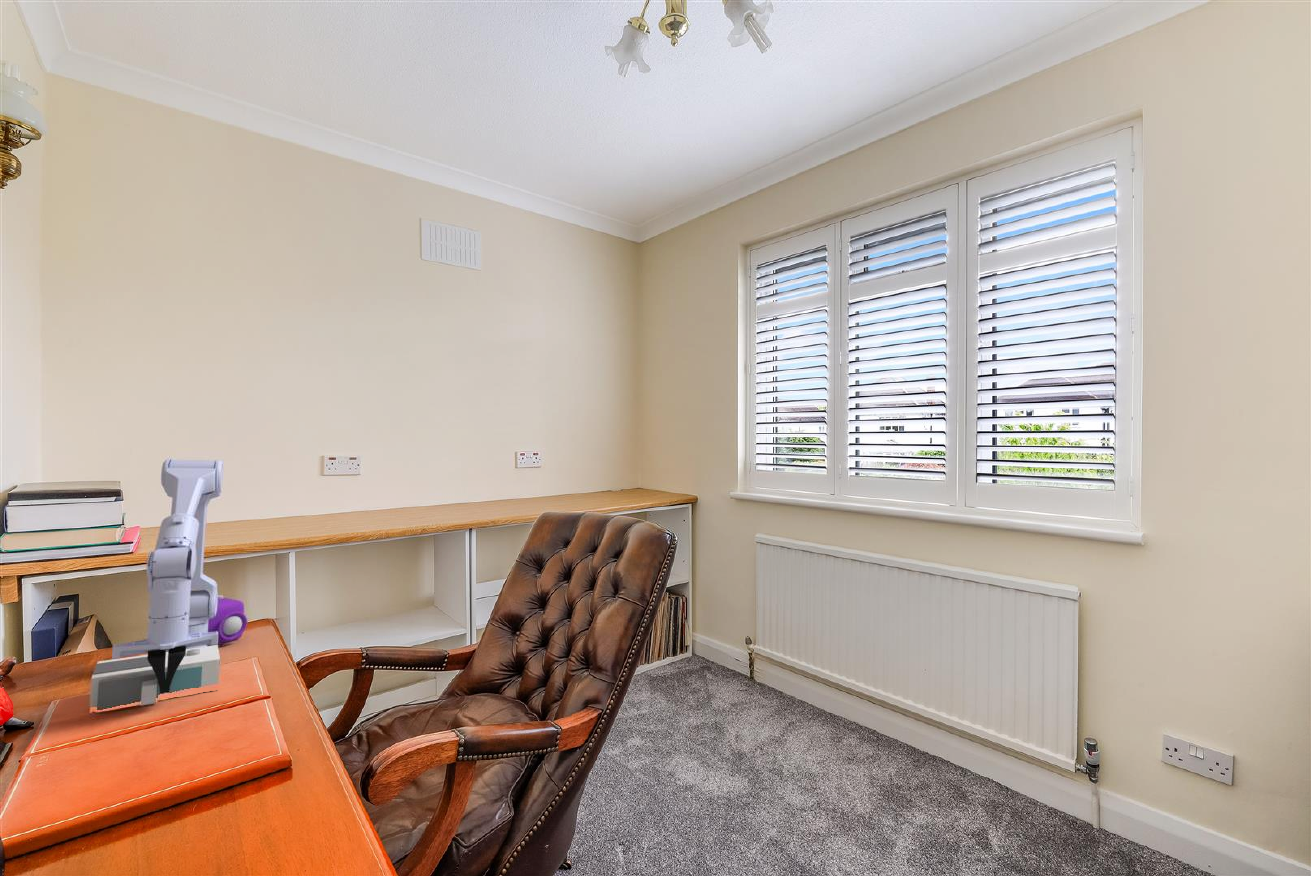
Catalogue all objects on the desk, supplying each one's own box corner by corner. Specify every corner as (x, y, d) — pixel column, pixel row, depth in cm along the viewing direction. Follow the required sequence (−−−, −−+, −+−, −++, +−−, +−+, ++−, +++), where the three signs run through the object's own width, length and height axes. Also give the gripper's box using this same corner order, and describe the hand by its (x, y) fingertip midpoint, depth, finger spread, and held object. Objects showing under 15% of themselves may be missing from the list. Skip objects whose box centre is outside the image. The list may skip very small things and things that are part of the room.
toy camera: (219, 652, 134) (222, 608, 134) (170, 646, 136) (173, 602, 137) (260, 638, 144) (262, 597, 145) (214, 632, 147) (216, 592, 147)
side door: (97, 710, 102) (99, 680, 102) (157, 700, 107) (159, 671, 107) (94, 719, 99) (96, 688, 99) (156, 708, 104) (158, 678, 104)
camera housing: (95, 694, 110) (98, 658, 110) (216, 674, 121) (217, 641, 121) (88, 714, 102) (91, 675, 102) (218, 690, 113) (220, 656, 113)
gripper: (112, 626, 98) (107, 708, 98) (220, 613, 107) (216, 689, 107) (116, 616, 104) (111, 694, 103) (218, 605, 113) (214, 676, 112)
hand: (164, 690), depth 105 cm, fingers closed
